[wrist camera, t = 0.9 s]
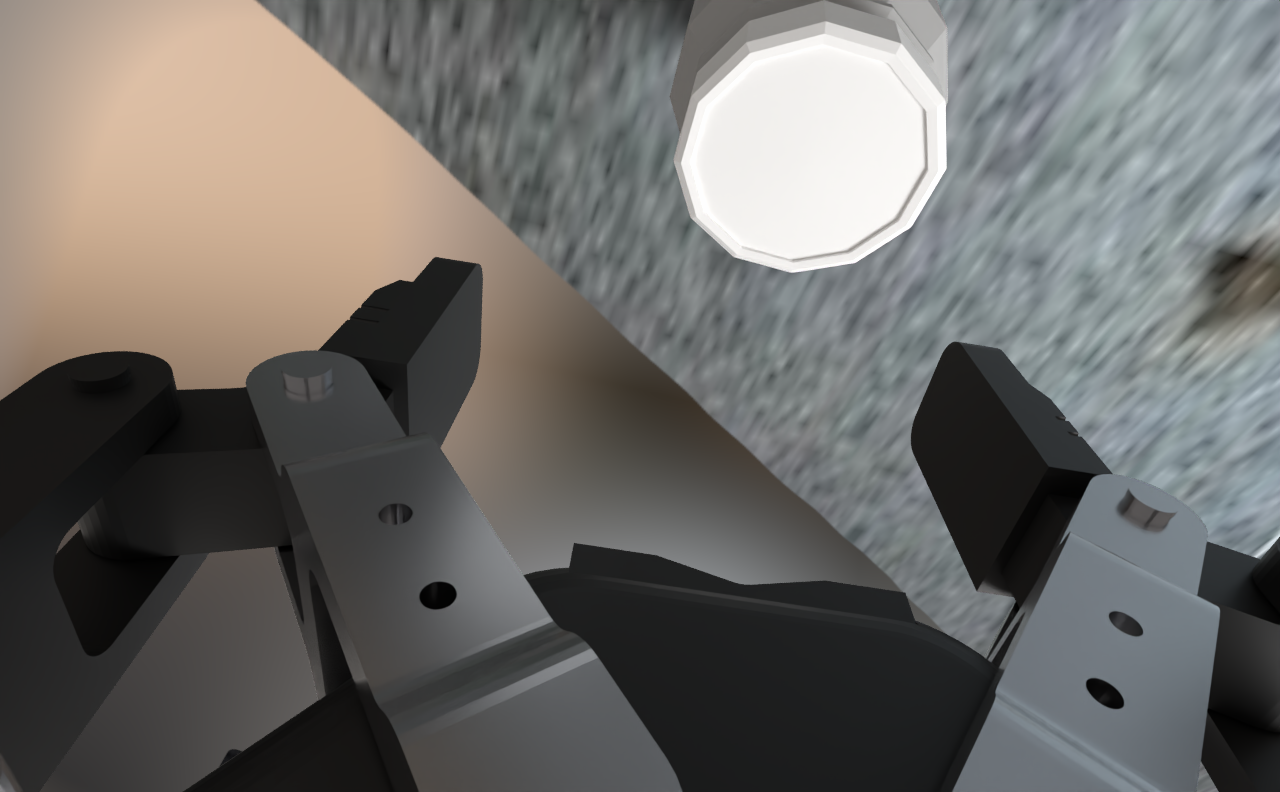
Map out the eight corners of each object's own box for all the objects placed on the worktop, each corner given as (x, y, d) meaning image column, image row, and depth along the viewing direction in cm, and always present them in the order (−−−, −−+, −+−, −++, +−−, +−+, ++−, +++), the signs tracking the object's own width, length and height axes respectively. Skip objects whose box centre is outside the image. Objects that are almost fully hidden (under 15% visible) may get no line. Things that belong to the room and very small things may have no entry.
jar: (666, 18, 36) (601, 208, 24) (778, -199, 30) (766, -84, 17) (821, 114, 39) (833, 331, 27) (957, -66, 32) (1056, 116, 20)
